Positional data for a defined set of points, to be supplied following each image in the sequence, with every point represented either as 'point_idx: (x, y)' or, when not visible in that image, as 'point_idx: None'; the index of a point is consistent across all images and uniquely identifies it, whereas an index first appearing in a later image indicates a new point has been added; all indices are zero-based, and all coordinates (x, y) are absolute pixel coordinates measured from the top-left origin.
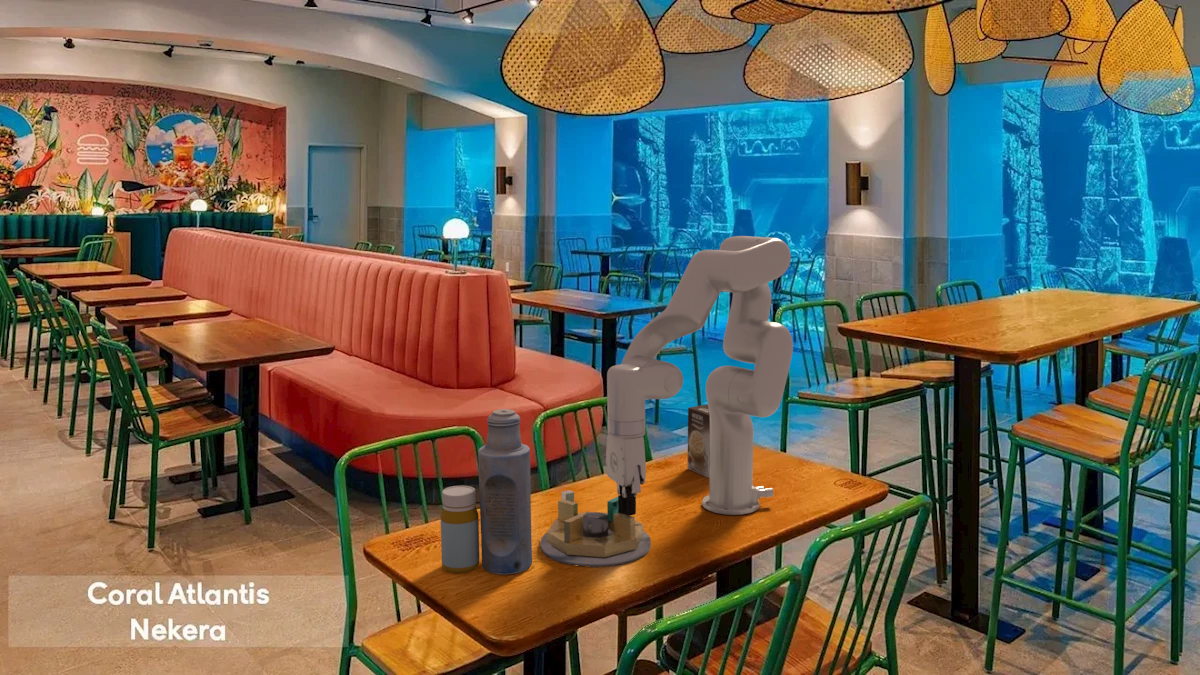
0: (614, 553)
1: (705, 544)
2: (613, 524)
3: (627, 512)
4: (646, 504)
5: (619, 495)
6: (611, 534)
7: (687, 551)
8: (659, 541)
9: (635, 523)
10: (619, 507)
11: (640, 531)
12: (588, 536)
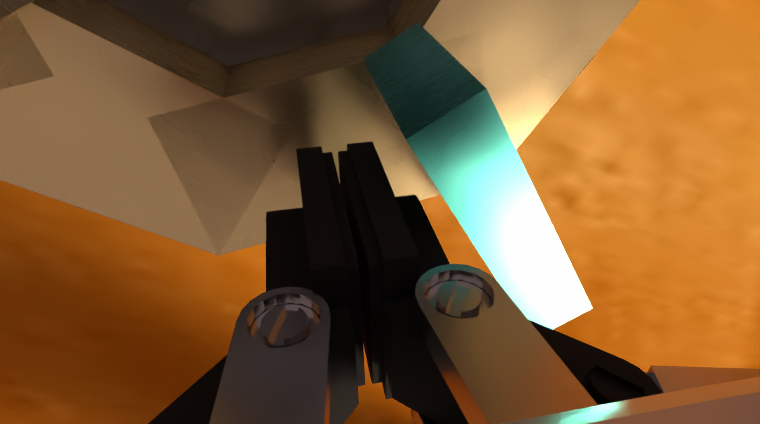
0: None
1: (118, 415)
2: (358, 54)
3: (268, 214)
4: (674, 316)
5: (409, 268)
6: (337, 10)
7: (24, 343)
8: (207, 261)
9: (256, 213)
10: (359, 177)
11: (87, 202)
12: None
